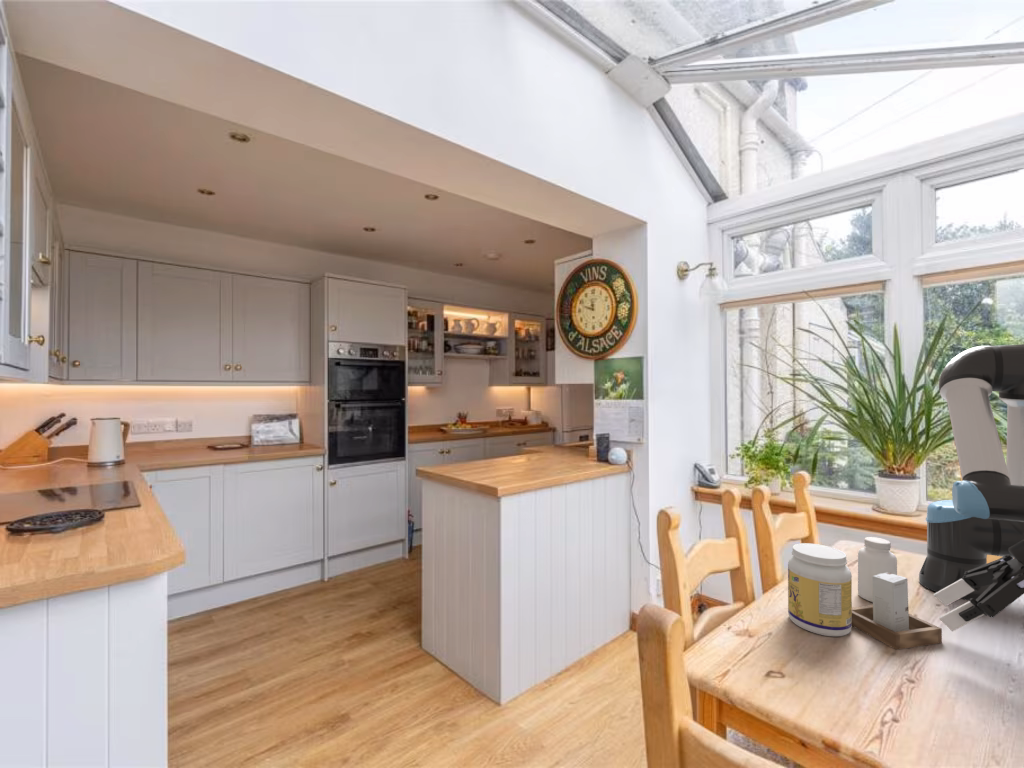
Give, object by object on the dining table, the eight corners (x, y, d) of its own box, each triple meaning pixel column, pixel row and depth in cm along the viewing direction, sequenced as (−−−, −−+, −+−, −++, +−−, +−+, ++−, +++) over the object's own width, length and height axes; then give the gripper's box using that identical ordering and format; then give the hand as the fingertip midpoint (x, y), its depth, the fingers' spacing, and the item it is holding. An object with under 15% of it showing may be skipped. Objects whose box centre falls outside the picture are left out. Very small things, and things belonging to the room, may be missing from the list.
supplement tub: (779, 610, 115) (779, 540, 115) (835, 614, 113) (834, 543, 113) (801, 636, 103) (800, 558, 103) (863, 641, 101) (863, 561, 101)
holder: (885, 616, 112) (885, 603, 112) (941, 642, 100) (941, 628, 100) (843, 621, 109) (843, 608, 109) (896, 649, 97) (896, 634, 97)
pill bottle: (904, 607, 116) (904, 545, 116) (867, 604, 118) (867, 543, 118) (886, 593, 124) (885, 536, 124) (851, 590, 126) (851, 534, 126)
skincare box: (895, 640, 101) (894, 583, 101) (871, 630, 105) (871, 575, 105) (910, 633, 104) (909, 578, 104) (887, 624, 108) (886, 571, 108)
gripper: (1091, 595, 79) (967, 655, 88) (1050, 553, 98) (953, 606, 107) (1043, 556, 82) (929, 617, 91) (1013, 523, 101) (922, 576, 111)
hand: (942, 611), depth 99 cm, fingers open, 13 cm apart
